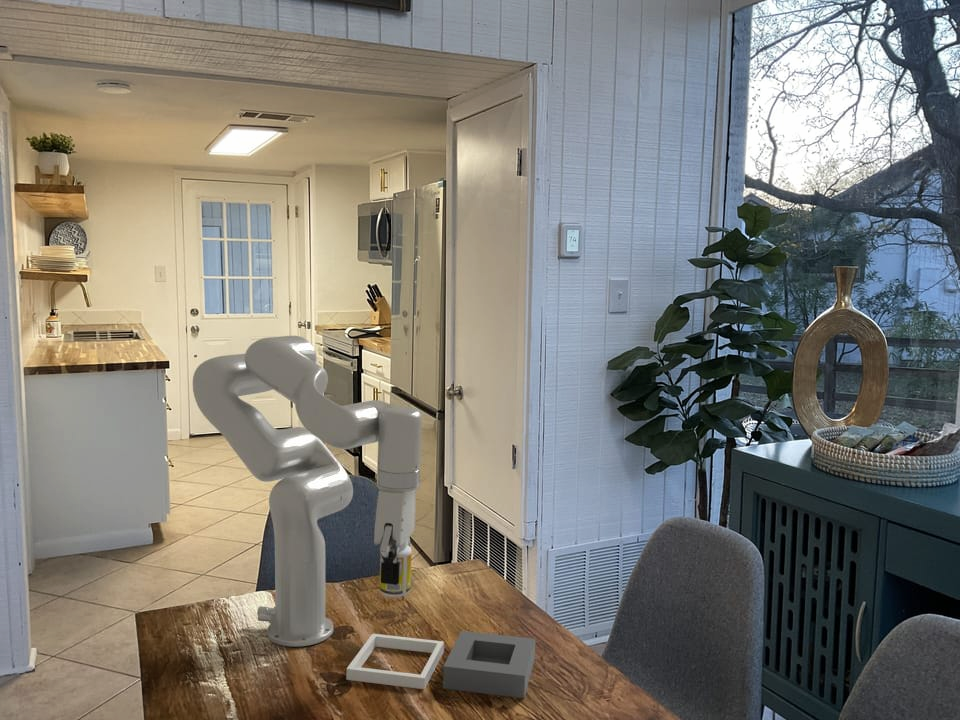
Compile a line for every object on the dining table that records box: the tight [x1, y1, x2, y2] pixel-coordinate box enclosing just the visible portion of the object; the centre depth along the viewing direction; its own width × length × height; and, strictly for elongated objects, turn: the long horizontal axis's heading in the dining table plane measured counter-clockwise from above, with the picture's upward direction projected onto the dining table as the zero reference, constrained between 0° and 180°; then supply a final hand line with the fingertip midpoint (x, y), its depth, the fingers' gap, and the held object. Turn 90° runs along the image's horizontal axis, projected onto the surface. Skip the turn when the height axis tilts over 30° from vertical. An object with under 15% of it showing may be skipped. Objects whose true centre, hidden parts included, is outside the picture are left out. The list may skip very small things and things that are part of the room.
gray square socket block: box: [442, 630, 536, 699], centre depth 143 cm, size 14×14×4 cm
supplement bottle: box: [379, 539, 413, 598], centre depth 144 cm, size 6×6×10 cm
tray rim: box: [346, 633, 445, 690], centre depth 146 cm, size 14×14×2 cm
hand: (395, 575), depth 144 cm, fingers closed on supplement bottle, 5 cm apart
